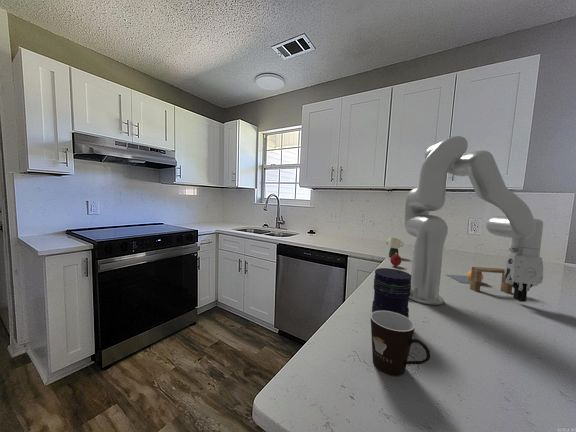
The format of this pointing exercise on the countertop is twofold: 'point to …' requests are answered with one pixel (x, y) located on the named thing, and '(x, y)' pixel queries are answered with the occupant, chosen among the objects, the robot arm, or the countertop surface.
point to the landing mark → (462, 278)
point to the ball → (470, 275)
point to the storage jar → (391, 291)
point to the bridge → (476, 278)
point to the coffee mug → (393, 342)
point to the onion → (395, 260)
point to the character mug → (394, 245)
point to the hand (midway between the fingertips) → (519, 300)
